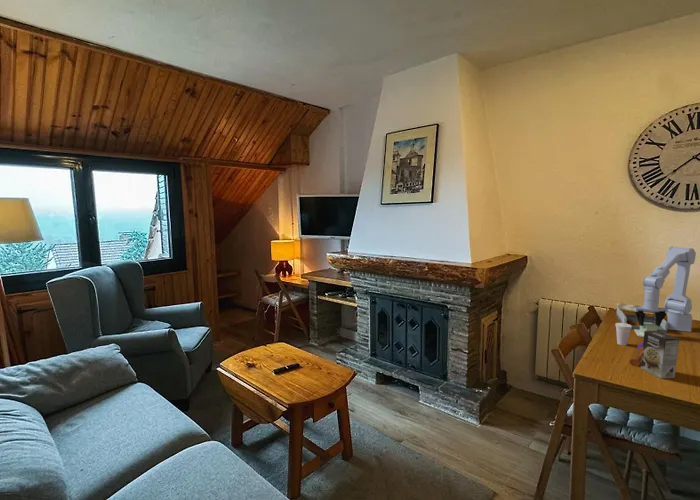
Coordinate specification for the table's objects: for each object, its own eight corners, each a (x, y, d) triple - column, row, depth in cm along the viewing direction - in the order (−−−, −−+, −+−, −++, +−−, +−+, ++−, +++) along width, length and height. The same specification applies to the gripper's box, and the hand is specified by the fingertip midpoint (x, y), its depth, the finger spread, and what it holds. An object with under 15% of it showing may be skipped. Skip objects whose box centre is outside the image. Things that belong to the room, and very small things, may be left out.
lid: (653, 307, 211) (653, 303, 211) (659, 313, 200) (659, 309, 199) (616, 304, 219) (616, 300, 219) (620, 309, 208) (620, 305, 208)
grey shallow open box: (654, 319, 208) (655, 310, 207) (667, 333, 186) (668, 322, 186) (616, 315, 217) (616, 306, 216) (624, 327, 195) (624, 318, 194)
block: (650, 331, 187) (650, 322, 186) (656, 335, 182) (657, 325, 181) (639, 331, 188) (640, 322, 187) (645, 334, 183) (646, 325, 182)
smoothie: (628, 342, 174) (630, 314, 173) (632, 347, 169) (634, 318, 167) (612, 340, 177) (614, 313, 175) (615, 345, 171) (617, 317, 170)
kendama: (624, 354, 152) (638, 339, 164) (627, 368, 152) (640, 352, 164) (642, 356, 147) (655, 341, 159) (644, 370, 147) (657, 354, 160)
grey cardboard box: (639, 368, 148) (643, 330, 146) (654, 367, 148) (657, 329, 146) (660, 379, 139) (664, 338, 137) (676, 378, 139) (680, 338, 137)
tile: (658, 333, 186) (658, 332, 186) (663, 339, 178) (663, 338, 178) (634, 330, 191) (634, 329, 191) (638, 336, 182) (638, 335, 182)
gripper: (661, 297, 185) (659, 323, 187) (630, 297, 187) (628, 322, 189) (671, 301, 178) (669, 327, 180) (639, 301, 180) (637, 327, 182)
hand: (649, 325), depth 184 cm, fingers open, 7 cm apart
